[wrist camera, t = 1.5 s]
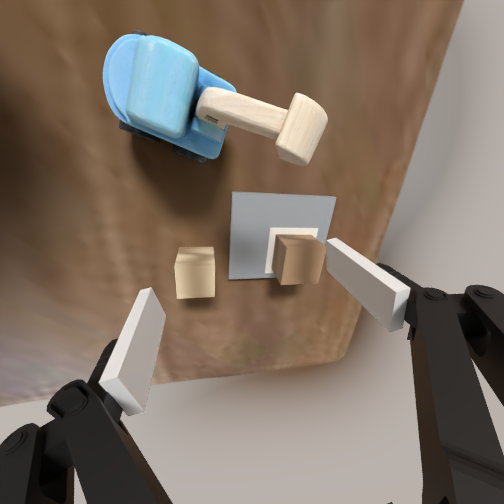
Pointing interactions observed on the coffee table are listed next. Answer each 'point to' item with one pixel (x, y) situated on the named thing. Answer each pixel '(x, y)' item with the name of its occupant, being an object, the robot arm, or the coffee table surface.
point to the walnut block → (297, 259)
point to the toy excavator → (198, 103)
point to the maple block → (195, 272)
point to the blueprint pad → (271, 227)
